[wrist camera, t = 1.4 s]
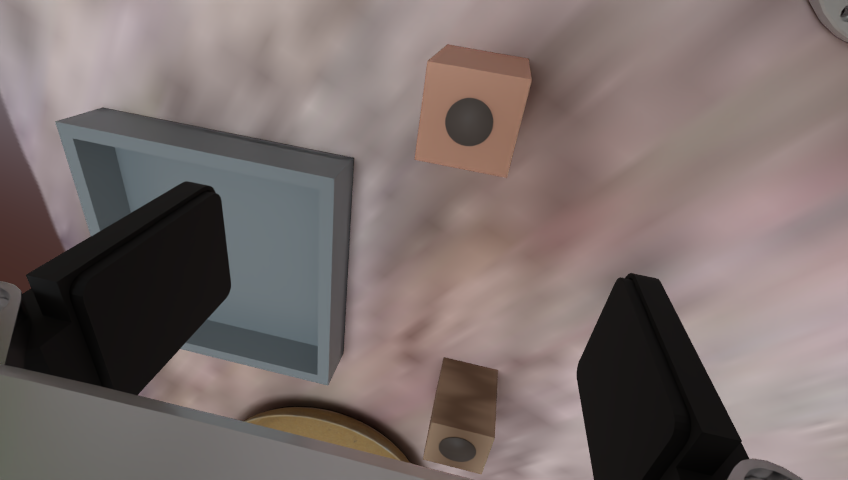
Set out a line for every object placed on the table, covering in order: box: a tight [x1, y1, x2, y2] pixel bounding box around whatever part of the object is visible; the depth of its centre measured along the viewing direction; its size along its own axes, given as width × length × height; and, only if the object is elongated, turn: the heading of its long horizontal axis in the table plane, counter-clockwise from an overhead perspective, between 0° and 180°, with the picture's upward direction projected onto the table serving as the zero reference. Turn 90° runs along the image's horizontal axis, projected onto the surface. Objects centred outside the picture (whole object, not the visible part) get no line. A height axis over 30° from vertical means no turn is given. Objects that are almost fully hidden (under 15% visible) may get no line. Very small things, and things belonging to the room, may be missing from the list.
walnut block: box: [423, 357, 498, 474], centre depth 38 cm, size 5×5×7 cm
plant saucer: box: [244, 407, 410, 463], centre depth 51 cm, size 24×24×3 cm
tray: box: [55, 108, 354, 385], centre depth 36 cm, size 20×20×4 cm
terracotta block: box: [415, 45, 532, 178], centre depth 25 cm, size 5×5×7 cm
